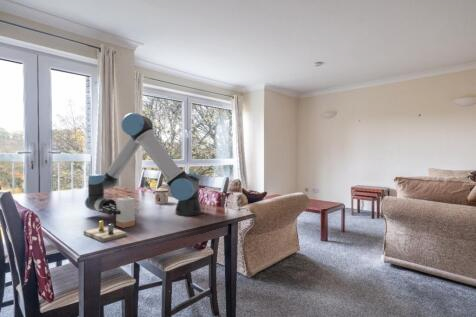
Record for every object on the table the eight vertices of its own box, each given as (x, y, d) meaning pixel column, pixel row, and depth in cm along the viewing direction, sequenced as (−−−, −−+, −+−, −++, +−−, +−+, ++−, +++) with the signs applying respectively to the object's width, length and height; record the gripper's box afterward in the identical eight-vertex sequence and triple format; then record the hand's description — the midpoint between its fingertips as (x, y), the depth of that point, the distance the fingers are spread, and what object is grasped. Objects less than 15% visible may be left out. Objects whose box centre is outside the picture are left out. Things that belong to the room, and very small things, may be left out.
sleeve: (134, 225, 133) (134, 198, 132) (123, 227, 128) (123, 200, 128) (127, 223, 136) (127, 197, 136) (116, 225, 131) (116, 198, 131)
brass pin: (104, 229, 120) (104, 220, 120) (102, 230, 118) (102, 221, 118) (100, 229, 120) (100, 220, 120) (97, 230, 118) (97, 221, 118)
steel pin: (114, 232, 115) (114, 223, 115) (112, 234, 113) (112, 224, 113) (109, 232, 115) (109, 223, 115) (107, 234, 113) (107, 224, 113)
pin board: (126, 235, 117) (126, 232, 116) (103, 241, 108) (103, 238, 108) (106, 229, 126) (106, 225, 126) (83, 234, 118) (83, 230, 118)
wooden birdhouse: (152, 202, 189) (152, 186, 189) (164, 201, 196) (164, 185, 195) (161, 205, 181) (161, 187, 180) (173, 203, 187) (173, 186, 187)
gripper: (122, 209, 150) (148, 216, 137) (86, 216, 135) (112, 224, 121) (122, 196, 150) (149, 201, 137) (86, 201, 135) (112, 207, 121)
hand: (131, 212), depth 129 cm, fingers closed on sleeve, 6 cm apart
